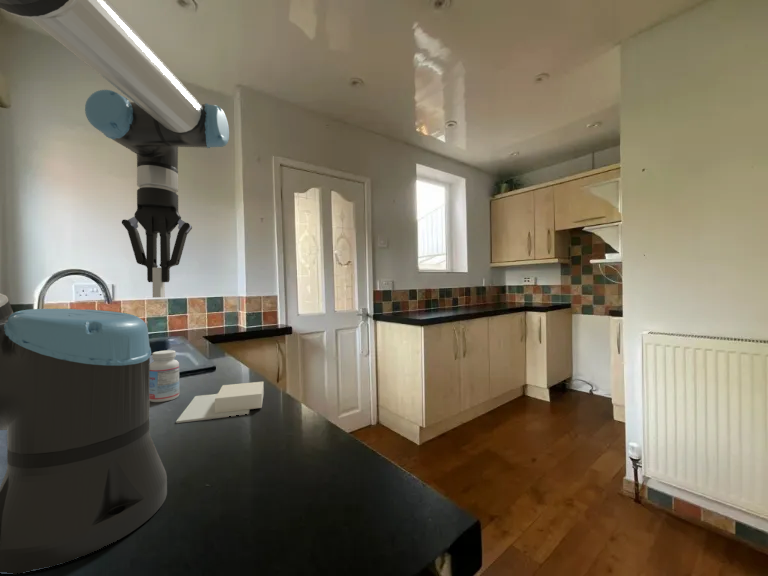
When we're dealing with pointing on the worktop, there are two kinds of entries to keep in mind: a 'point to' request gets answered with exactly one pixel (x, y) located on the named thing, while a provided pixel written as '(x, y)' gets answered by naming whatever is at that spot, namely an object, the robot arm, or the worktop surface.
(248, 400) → the cream rectangular block
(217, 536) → the worktop surface
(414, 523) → the worktop surface
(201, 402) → the mat
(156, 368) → the pill bottle
